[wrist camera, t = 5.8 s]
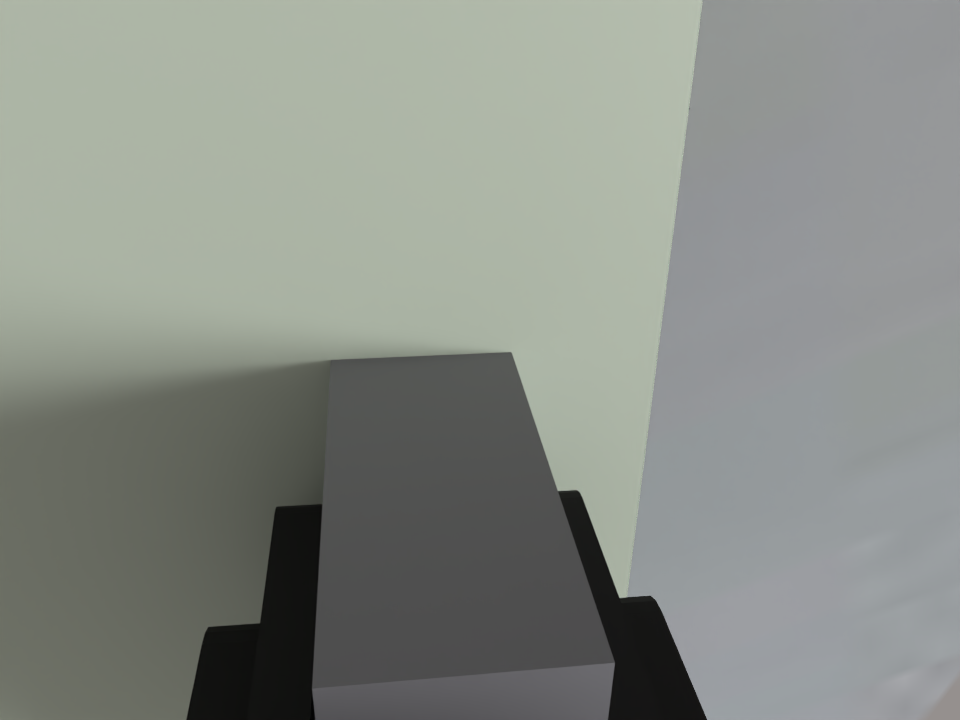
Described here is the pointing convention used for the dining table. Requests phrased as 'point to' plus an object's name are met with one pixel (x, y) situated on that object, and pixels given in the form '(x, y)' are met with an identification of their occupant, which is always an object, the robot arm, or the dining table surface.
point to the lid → (329, 338)
